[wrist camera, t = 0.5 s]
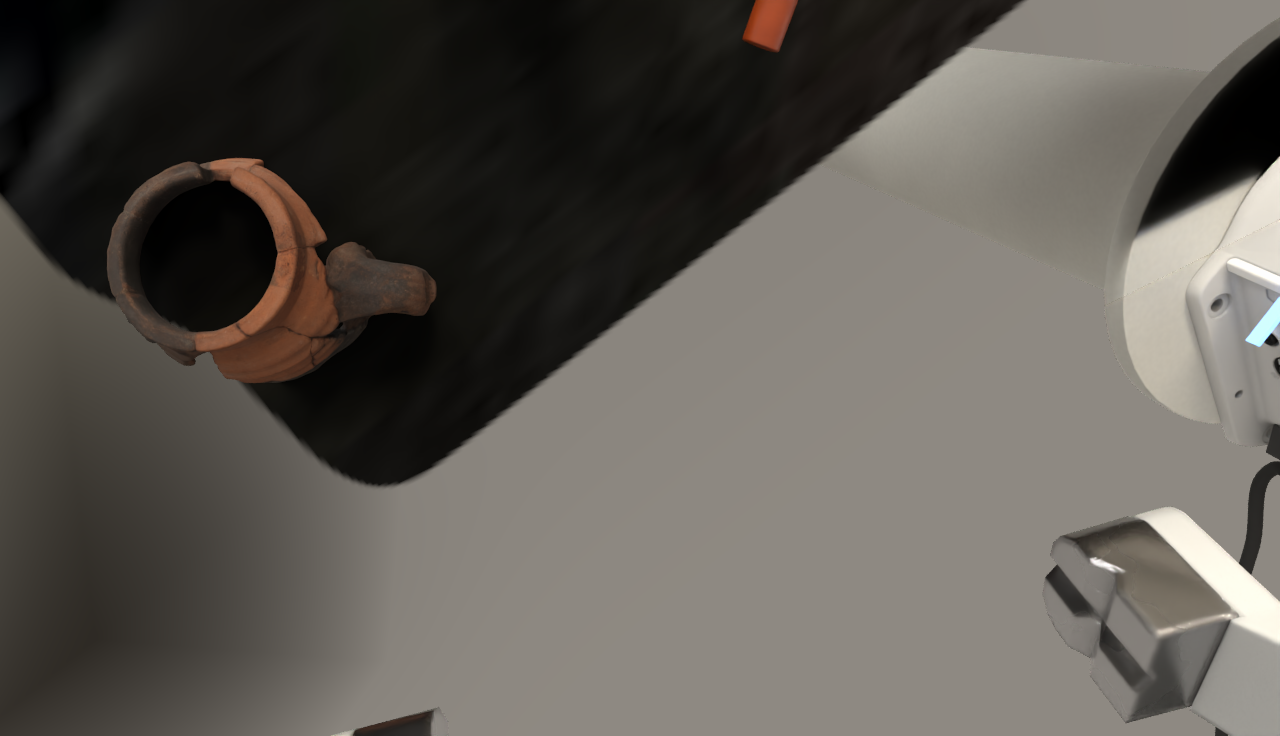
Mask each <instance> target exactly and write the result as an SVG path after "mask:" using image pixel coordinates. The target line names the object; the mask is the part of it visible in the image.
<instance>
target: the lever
mask: <svg viewBox="0 0 1280 736" xmlns="http://www.w3.org/2000/svg"><path fill="white" fill-rule="evenodd" d="M797 2H798V0H756V1H755V4H754V7H753V10H752V12H751V15H750V18H749V21H748V23H747V26H746V29H745V32H744V35H743V37H742V39H743V40H744V41H745V42H747V43H749V44H752V45H754V46H757V47H759V48H762V49H765V50H768V51H771V52H779V50H780V47H781V44H782V42H783V39H784V37H785V34H786V31H787V29H788V26H789V23H790V21H791V18H792V15H793V13H794V10H795V7H796V5H797Z"/></svg>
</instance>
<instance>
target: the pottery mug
mask: <svg viewBox="0 0 1280 736" xmlns="http://www.w3.org/2000/svg"><path fill="white" fill-rule="evenodd" d="M213 181H230V182H231V185H232V186H233V187H234V188H236V189H238V190H240V191H241V192H243V193H245V194H246V195H247V196H249V197H250V198H251V199H253V200H254V201H255V202H256V203H257V204H258V205H259V206H260V207H261V209H262V211H263V212H264V213H265V215H266V217H267V219H268V220H269V223H270V225H271V228H272V231H273V235H274V238H275V243H276V248H277V251H278V255H277V259H276V267H275V271H274V274H273V277H272V280H271V283H270V285H269V287H268V289H267V291H266V293H265V295H264V296H263V298H262V299H261V301H260V302H259V303H258V304H257V305H256V307H255V308H254V309H253V310H252V311H251V312H250V313H249V314H248V315H246V316H245V317H244V318H242V319H241V320H239V321H238V322H237V323H234V324H232V325H230V326H228V327H226V328H223V329H220V330H216V331H209V332H197V333H196V332H190V331H185V330H182V329H179V328H177V327H175V326H173V325H171V324H170V323H168V322H167V321H166V320H164V319H163V318H162V317H161V316H160V315H159V314H158V313H157V312H156V311H155V310H154V308H153V307H152V305H151V304H150V303H149V301H148V300H147V298H146V295H145V292H144V290H143V286H142V281H141V275H140V256H141V249H142V245H143V242H144V239H145V237H146V234H147V232H148V230H149V228H150V226H151V225H152V223H153V222H154V220H155V218H156V217H157V215H158V214H159V213H160V212H161V211H162V209H163V208H164V207H165V206H166V205H167V204H168V203H169V202H170V201H172V200H173V199H174V198H175V197H177V196H178V195H180V194H182V193H184V192H186V191H188V190H191V189H193V188H196V187H199V186H203V185H207V184H210V183H211V182H213ZM326 241H327V237H326V234H325V233H324V231H323V229H322V228H321V226H320V224H319V223H318V221H317V220H316V218H315V217H314V216H313V214H312V213H311V211H310V209H309V207H308V206H307V204H306V203H305V202H304V201H303V200H302V199H301V198H300V197H299V196H298V195H297V194H296V193H295V192H294V191H293V190H292V189H291V187H290V186H289V185H288V184H287V183H286V182H285V181H284V180H283V179H281V178H280V177H279V176H278V175H276V174H275V173H273V172H271V171H270V170H268V169H266V168H264V163H263V161H262V160H258V159H247V158H233V159H224V160H218V161H213V162H208V163H204V164H201V165H198V164H196V163H193V162H184V163H181V164H179V165H176V166H173V167H170V168H168V169H166V170H164V171H163V172H161V173H160V174H158V175H156V176H154V177H152V178H151V179H149V180H148V181H147V182H145V183H144V184H143V185H142V186H140V188H138V189H137V190H136V191H135V193H134V194H133V195H132V196H131V198H130V199H129V201H128V202H127V203H126V205H125V207H124V212H123V213H121V214H120V215H119V217H118V219H117V221H116V223H115V225H114V227H113V228H112V235H111V239H110V242H109V246H108V250H107V272H108V279H109V282H110V287H111V292H112V294H113V295H114V296H115V297H116V301H117V303H118V305H119V307H120V308H121V310H122V312H123V313H124V314H125V315H126V318H127V320H128V322H129V323H131V324H132V325H133V326H134V327H135V328H136V330H137V331H138V332H140V333H141V334H142V335H143V336H144V337H145V338H146V339H147V340H148V341H149V342H152V343H157V344H158V345H159V346H160V347H161V348H162V349H163V350H164V351H165V352H166V354H167V355H168V356H170V357H171V358H173V359H174V360H176V361H177V362H179V363H181V364H183V365H186V366H191V365H194V364H195V362H196V361H195V358H196V357H197V356H198V355H201V354H203V353H205V352H210V353H211V354H212V355H213V359H214V362H215V363H216V364H217V365H218V369H219V370H220V372H221V373H222V374H223V376H224V377H225V378H227V379H235V380H238V381H241V382H244V383H262V382H266V383H269V382H271V383H279V382H284V381H289V380H294V379H298V378H300V377H302V376H304V375H306V374H309V373H311V372H313V371H315V370H317V369H318V368H319V367H320V366H321V365H322V364H324V363H325V362H326V361H327V360H329V359H330V358H331V357H332V356H334V355H335V354H336V353H338V352H340V351H341V350H343V349H344V348H346V347H347V346H349V345H350V344H351V343H352V342H353V341H354V340H355V339H356V338H357V337H358V336H359V335H360V334H361V333H362V331H363V330H364V329H365V328H366V326H367V323H368V319H369V318H370V317H371V316H372V315H379V314H383V313H404V314H410V315H414V316H420V315H424V314H425V313H426V312H427V310H428V308H429V306H430V304H431V303H432V302H433V301H434V300H435V298H436V282H435V281H434V280H433V279H432V278H431V276H430V275H429V274H428V273H427V271H425V270H424V269H421V268H419V267H416V266H412V265H407V264H400V263H391V262H386V261H382V260H376V258H375V257H374V256H373V254H372V252H371V251H368V250H366V249H365V247H363V246H360V245H358V244H357V243H355V242H348V243H345V244H343V245H342V246H339V247H336V248H335V249H334V250H332V251H331V253H330V254H329V256H328V258H327V262H326V266H324V265H323V263H322V261H321V260H320V259H319V258H318V256H317V253H316V251H315V247H318V246H319V245H321V244H323V243H325V242H326ZM340 322H343V325H342V327H341V328H340V329H336V328H337V326H338V325H339V323H340ZM335 329H336V330H335Z"/></svg>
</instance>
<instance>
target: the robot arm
mask: <svg viewBox="0 0 1280 736" xmlns="http://www.w3.org/2000/svg"><path fill="white" fill-rule="evenodd" d="M1186 302H1187V305H1188V309H1189V312H1190V316H1191V319H1192V323H1193V326H1194V330H1195V333H1196V337H1197V340H1198V344H1199V347H1200V351H1201V354H1202V358H1203V361H1204V365H1205V368H1206V372H1207V375H1208V379H1209V382H1210V386H1211V389H1212V393H1213V396H1214V400H1215V403H1216V407H1217V410H1218V414H1219V417H1220V421H1221V424H1222V427H1223V431H1224V434H1225V436H1226V438H1227V440H1228V441H1230V442H1233V443H1235V444H1237V445H1240V446H1262V445H1268V446H1267V450H1266V453H1268V454H1270V455H1272V456H1273V457H1275V458H1277V459H1279V460H1280V156H1279V157H1278V158H1277V159H1276V160H1275V161H1274V162H1273V163H1272V164H1271V165H1270V166H1269V167H1268V168H1267V169H1266V170H1265V171H1264V173H1263V174H1262V175H1261V176H1260V178H1259V179H1258V180H1257V181H1256V183H1255V184H1254V185H1253V187H1252V188H1251V190H1250V191H1249V193H1248V194H1247V196H1246V197H1245V199H1244V200H1243V202H1242V204H1241V205H1240V207H1239V209H1238V211H1237V212H1236V214H1235V216H1234V218H1233V220H1232V222H1231V224H1230V226H1229V228H1228V230H1227V232H1226V235H1225V236H1224V238H1223V240H1222V242H1221V243H1220V245H1219V247H1218V248H1217V249H1216V250H1215V252H1214V253H1213V254H1212V255H1211V256H1210V257H1209V258H1208V259H1207V261H1206V262H1205V263H1204V264H1203V265H1202V266H1201V268H1200V269H1199V270H1198V271H1197V273H1196V274H1195V275H1194V277H1193V278H1192V280H1191V281H1190V283H1189V285H1188V287H1187V290H1186ZM1276 475H1280V462H1278V461H1277V462H1270V463H1269V464H1267V465H1265V466H1264V467H1263V468H1262V469H1261V470H1260V471H1259V472H1258V473H1257V474H1256V476H1255V477H1254V479H1253V481H1252V484H1251V488H1250V493H1249V502H1248V524H1247V535H1246V541H1245V545H1244V549H1243V552H1242V555H1241V559H1240V562H1239V563H1237V561H1235V560H1234V559H1233V558H1232V557H1231V556H1230V555H1229V554H1228V553H1227V552H1226V551H1225V550H1224V549H1223V548H1222V547H1220V546H1219V545H1218V544H1217V543H1216V542H1215V541H1214V540H1213V539H1212V538H1211V537H1210V536H1209V535H1207V533H1205V532H1204V531H1203V530H1202V529H1201V528H1200V527H1199V526H1198V525H1197V524H1196V523H1195V522H1194V521H1192V519H1191V518H1189V517H1188V516H1187V515H1186V514H1185V513H1184V512H1182V511H1180V510H1178V509H1176V508H1174V507H1163V508H1159V509H1155V510H1152V511H1149V512H1145V513H1142V514H1138V515H1135V516H1131V517H1124V518H1121V519H1117V520H1114V521H1110V522H1107V523H1104V524H1100V525H1097V526H1093V527H1090V528H1087V529H1083V530H1080V531H1076V532H1073V533H1070V534H1066V535H1063V536H1060V537H1059V538H1058V539H1057V540H1056V541H1054V542H1053V546H1052V550H1051V554H1050V556H1051V557H1052V558H1053V559H1054V561H1055V562H1056V563H1057V565H1056V566H1055V567H1054V569H1053V570H1052V571H1051V572H1050V573H1049V574H1048V575H1047V576H1046V577H1045V582H1044V589H1043V597H1044V601H1045V605H1046V609H1047V613H1048V615H1049V617H1050V619H1051V621H1052V623H1053V625H1054V627H1055V629H1056V631H1057V632H1058V633H1059V635H1060V636H1061V637H1062V639H1063V640H1064V642H1065V643H1066V644H1067V646H1068V647H1070V648H1072V649H1074V650H1076V651H1078V652H1080V653H1082V654H1083V655H1085V656H1087V657H1089V658H1090V676H1091V678H1092V679H1093V681H1094V682H1095V683H1096V685H1097V686H1098V687H1099V688H1100V690H1101V691H1102V692H1103V694H1104V695H1105V696H1106V698H1107V699H1108V700H1109V702H1110V703H1111V704H1112V705H1113V707H1114V708H1115V710H1116V711H1117V712H1118V714H1119V715H1120V716H1121V718H1122V719H1123V720H1124V722H1125V723H1128V722H1132V721H1136V720H1140V719H1143V718H1147V717H1151V716H1155V715H1159V714H1162V713H1167V712H1170V711H1174V710H1178V709H1182V708H1185V707H1190V706H1191V709H1190V711H1192V712H1193V713H1195V714H1196V715H1198V716H1200V717H1201V718H1203V719H1204V720H1206V721H1207V722H1209V723H1211V724H1212V725H1214V726H1215V727H1216V732H1215V736H1228V735H1230V736H1280V602H1279V601H1278V600H1277V599H1276V598H1275V597H1274V596H1273V595H1272V594H1271V593H1270V592H1269V591H1268V590H1266V589H1265V588H1264V587H1263V586H1262V585H1261V584H1260V583H1259V582H1258V581H1257V580H1256V579H1255V578H1254V577H1252V575H1251V574H1252V571H1253V568H1254V564H1255V561H1256V558H1257V554H1258V551H1259V548H1260V544H1261V537H1262V529H1263V510H1264V498H1265V492H1266V488H1267V485H1268V483H1269V481H1270V480H1271V479H1272V478H1273V477H1274V476H1276ZM332 736H448V720H447V719H446V717H445V716H444V714H443V713H442V711H441V710H440V708H439V707H438V708H435V709H431V710H427V711H424V712H420V713H416V714H413V715H409V716H405V717H401V718H398V719H393V720H390V721H386V722H382V723H378V724H375V725H371V726H367V727H363V728H358V729H353V730H350V731H346V732H343V733H339V734H335V735H332Z"/></svg>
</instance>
